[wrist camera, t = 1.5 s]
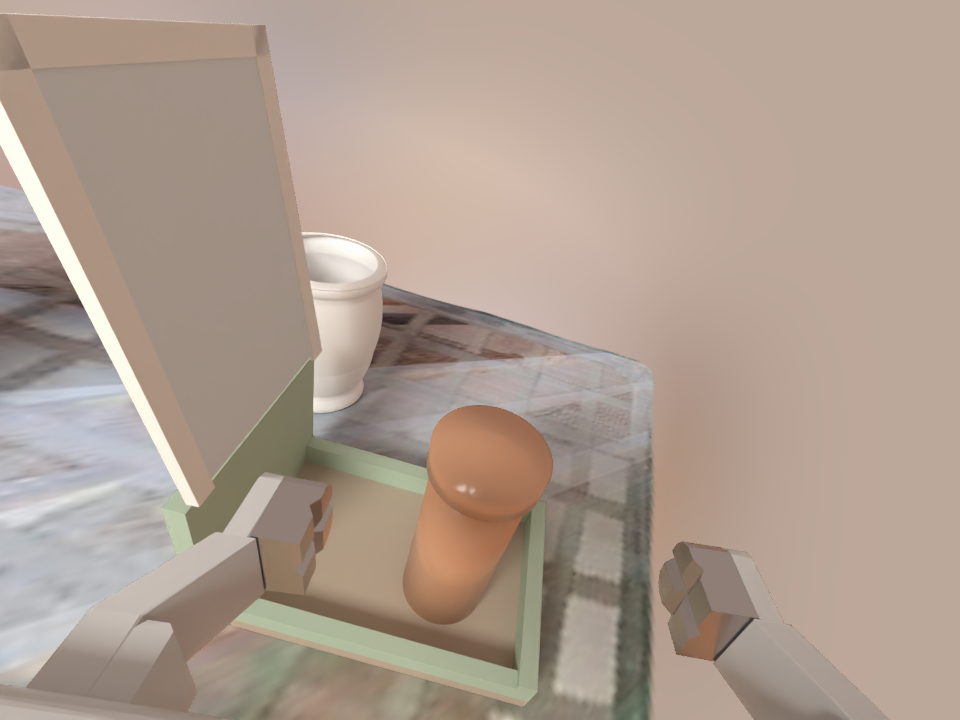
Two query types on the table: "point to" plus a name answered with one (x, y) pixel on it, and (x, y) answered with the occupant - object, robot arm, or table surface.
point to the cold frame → (375, 562)
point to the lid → (167, 215)
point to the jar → (343, 315)
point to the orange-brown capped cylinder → (471, 507)
